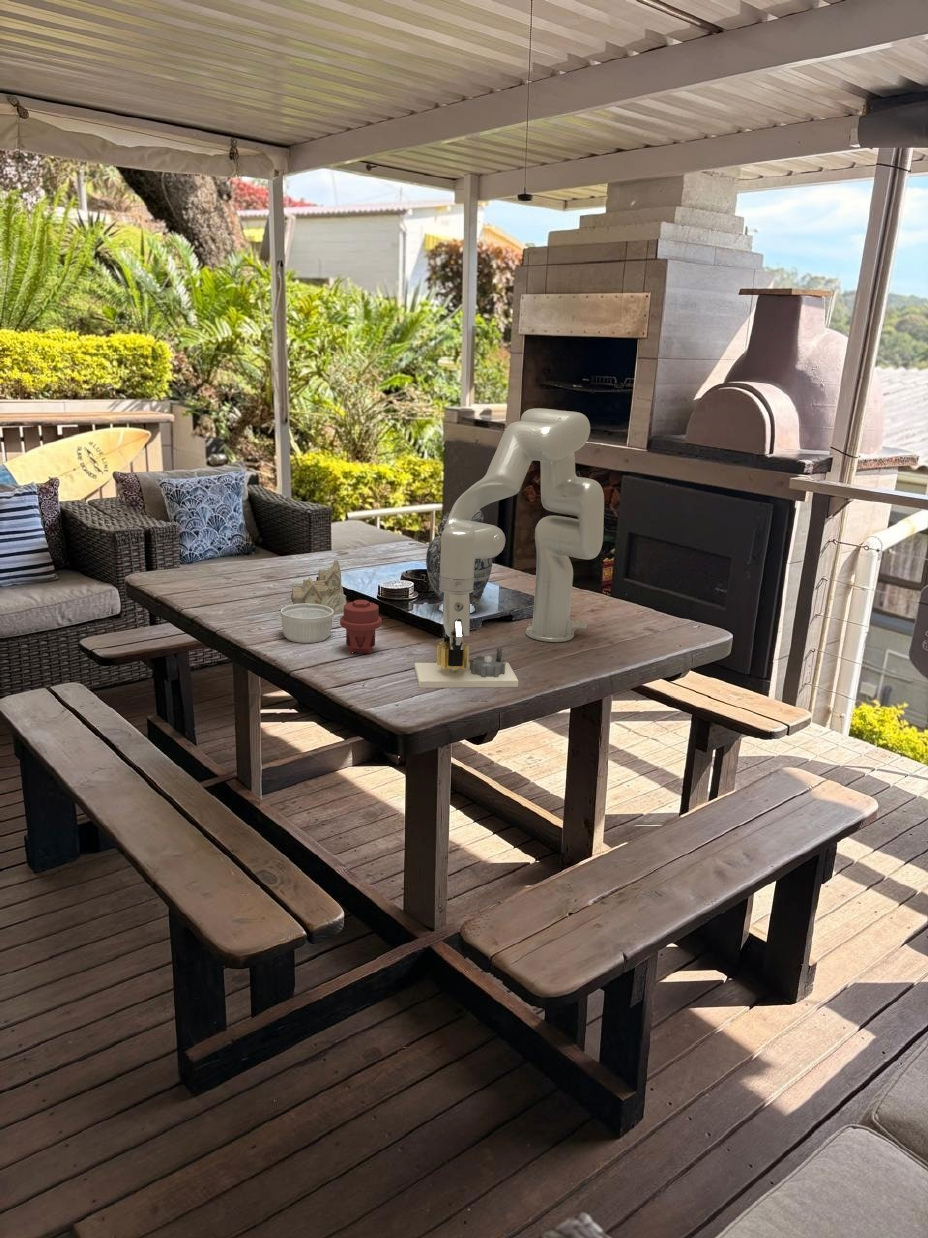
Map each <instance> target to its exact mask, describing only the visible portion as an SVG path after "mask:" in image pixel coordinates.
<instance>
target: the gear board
mask: <svg viewBox="0 0 928 1238" xmlns="http://www.w3.org/2000/svg"><path fill="white" fill-rule="evenodd" d="M502 656H503V648H502V647H496V657H495V656H494V655H483V656H482V655H476V657H475V658H474V657H473V658H472V657H471V658H469V663H468V665H467V666H466V668H465V669H463V668H460V669H457V670H452V669H448V668H446V669H443V668H441V665H437V662H414V672H415V675H416V679H417V683H418V687H419V689H433V688H434V689H436V688H439V689H440V688H441V689H442V688H446V689H447V688H457V689H459V688H519V679H518V678H517V675H516V674H515V672H514V670H513V668H512V667H511V665H510V662H505V658H502Z"/></svg>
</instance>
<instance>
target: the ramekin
mask: <svg viewBox="0 0 928 1238" xmlns="http://www.w3.org/2000/svg"><path fill="white" fill-rule="evenodd" d="M280 609H281V610H280V613H279V614H280V618H281V626H282V631H283V632H282V633H283V635H284V637H285V638H286V639H287V640H289V641H291V642H295V643H301V644H312V643H313V644H314V643H320V642H324V641H326V640H327V639H328V638H329V636H330V635H331V633H332V628H333V627H332V626H333V619H334V616H335V614H334V611H333V609H332V608H330V607H328V606H324V605H320V604H308V603H305V604H293V603H292V604H289V605H287V606H284V607H282V608H280Z"/></svg>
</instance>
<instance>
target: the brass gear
mask: <svg viewBox="0 0 928 1238" xmlns="http://www.w3.org/2000/svg"><path fill="white" fill-rule="evenodd" d="M436 646H437V647H436V648H437V649H436V663H437V665H441V668H443V669H446V668H448V669H452V670H457V669H460V668H463V669H465V668H466V666H467V665H468V663H470V645H469V644H466V643H465V641H463V665H462V666H448V652H449V648H450V641H449V642H444V641H440V642H439V644H437V645H436Z"/></svg>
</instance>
